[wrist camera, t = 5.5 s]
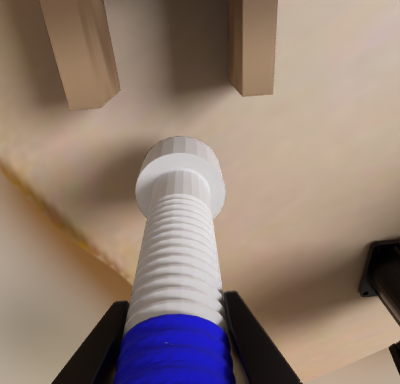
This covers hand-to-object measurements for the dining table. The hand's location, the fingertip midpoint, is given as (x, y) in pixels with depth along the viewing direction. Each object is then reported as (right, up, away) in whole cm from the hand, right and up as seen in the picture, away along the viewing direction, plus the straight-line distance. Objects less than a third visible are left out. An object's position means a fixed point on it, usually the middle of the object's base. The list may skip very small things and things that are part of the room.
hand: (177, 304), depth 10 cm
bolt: (-1, +5, +9) cm, 11 cm away
